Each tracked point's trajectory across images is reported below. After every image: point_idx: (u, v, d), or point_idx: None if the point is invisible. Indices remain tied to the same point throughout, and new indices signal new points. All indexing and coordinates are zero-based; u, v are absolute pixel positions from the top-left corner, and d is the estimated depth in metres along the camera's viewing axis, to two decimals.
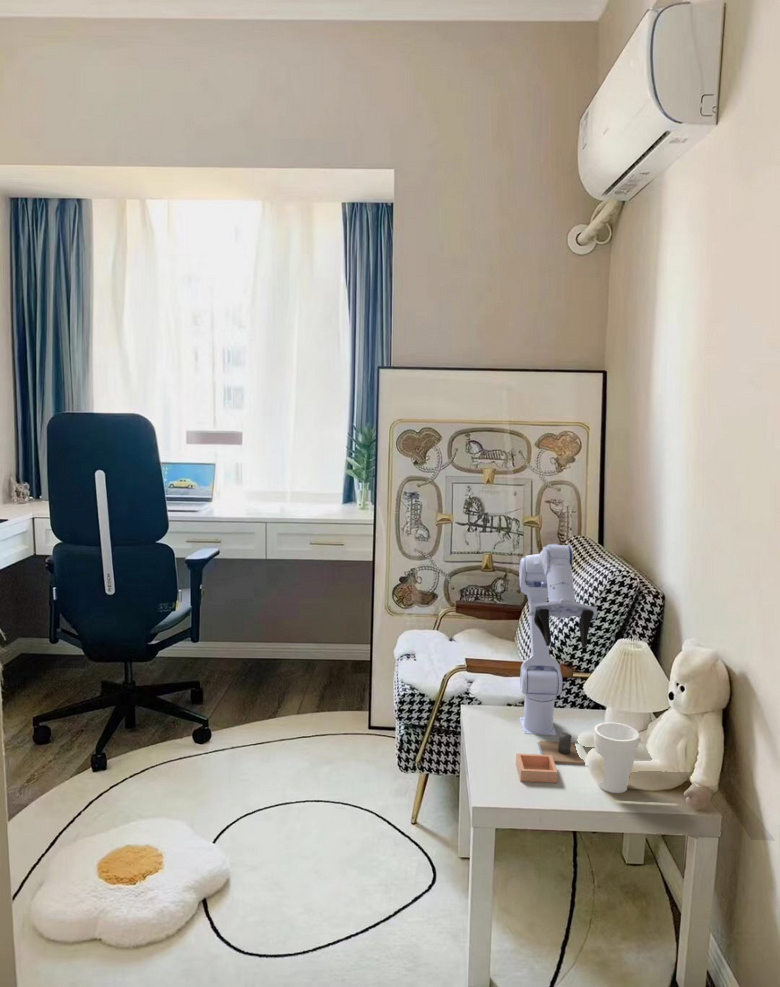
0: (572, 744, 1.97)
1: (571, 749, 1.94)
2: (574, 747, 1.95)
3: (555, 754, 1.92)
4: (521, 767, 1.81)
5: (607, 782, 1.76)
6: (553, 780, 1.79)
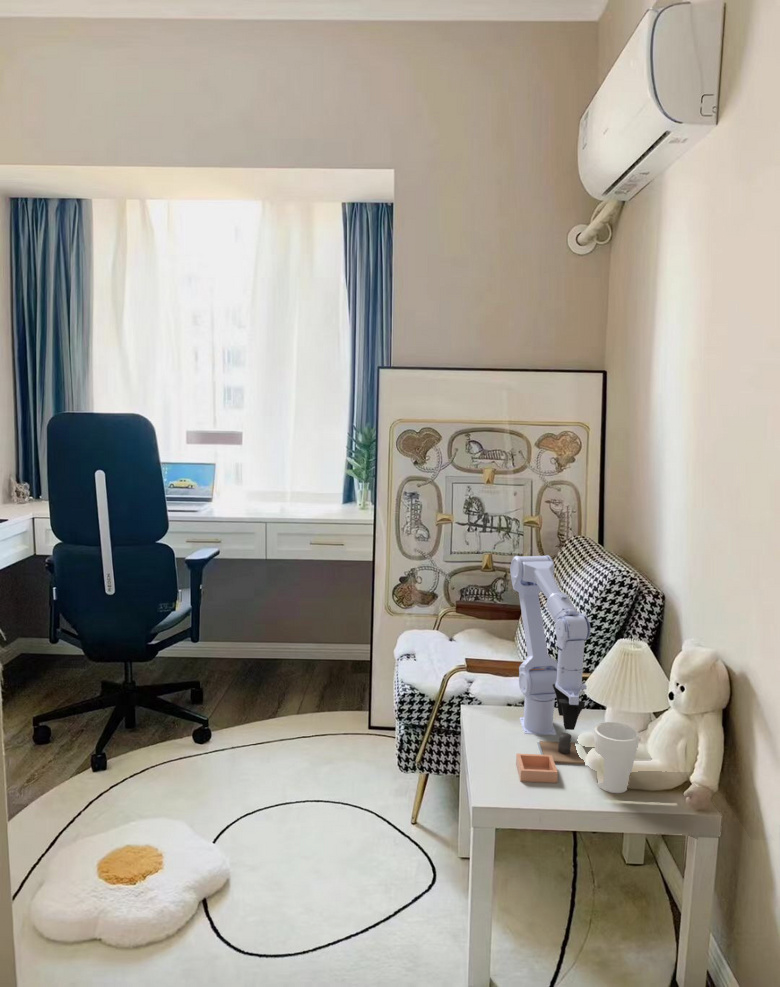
0: (572, 744, 1.97)
1: (571, 749, 1.94)
2: (574, 747, 1.95)
3: (555, 754, 1.92)
4: (521, 767, 1.81)
5: (607, 782, 1.76)
6: (553, 780, 1.79)
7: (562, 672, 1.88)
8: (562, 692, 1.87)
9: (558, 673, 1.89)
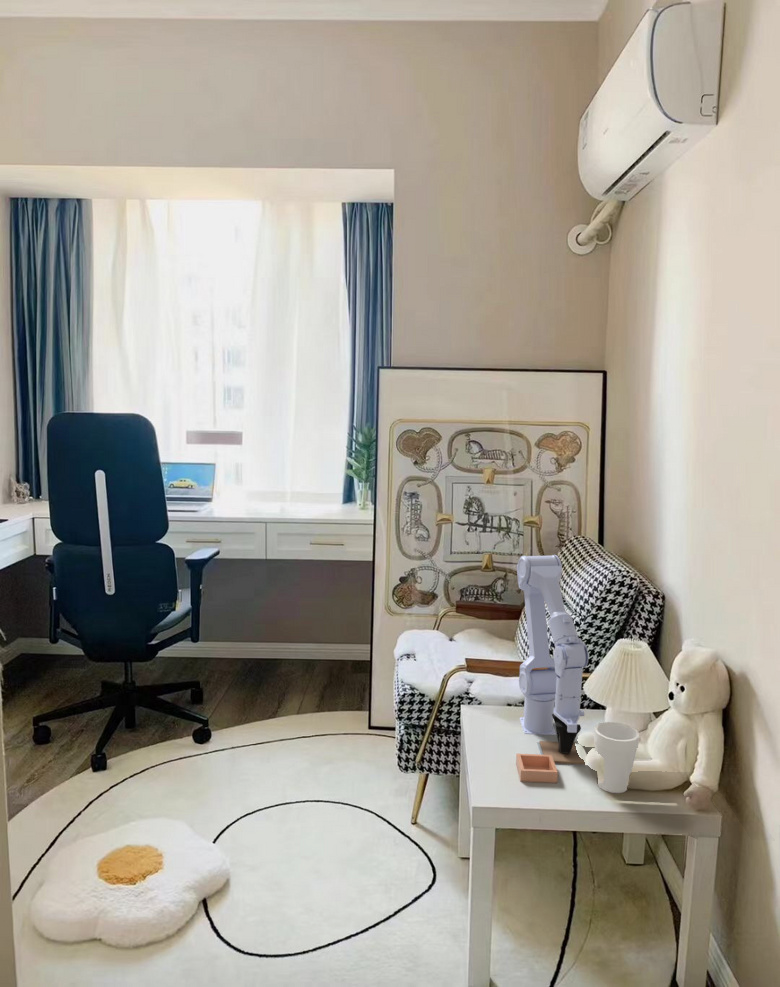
0: None
1: (571, 749, 1.94)
2: (574, 747, 1.95)
3: (555, 754, 1.92)
4: (521, 767, 1.81)
5: (607, 782, 1.76)
6: (553, 780, 1.79)
7: (560, 699, 1.89)
8: (560, 719, 1.88)
9: (556, 700, 1.91)
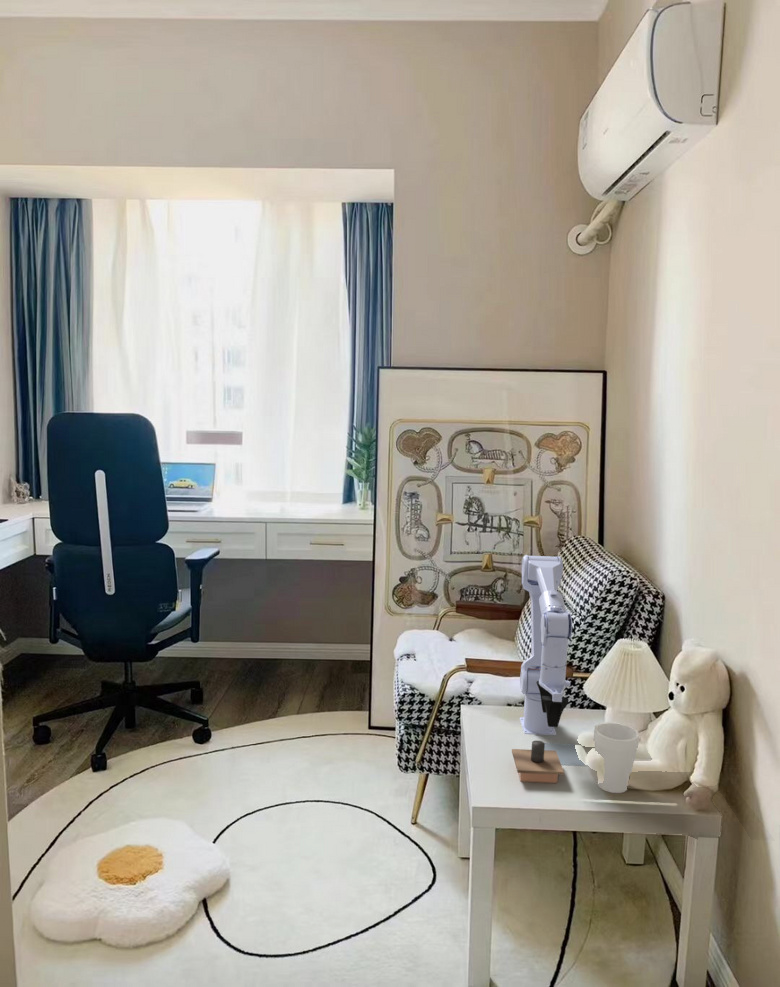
0: (546, 752, 1.87)
1: (545, 758, 1.84)
2: (548, 755, 1.85)
3: (528, 763, 1.81)
4: None
5: (607, 782, 1.76)
6: (553, 780, 1.79)
7: (545, 669, 1.87)
8: (545, 689, 1.86)
9: (542, 670, 1.88)
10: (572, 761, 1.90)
